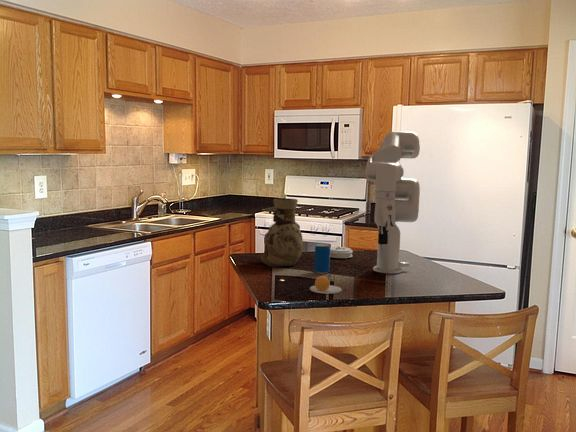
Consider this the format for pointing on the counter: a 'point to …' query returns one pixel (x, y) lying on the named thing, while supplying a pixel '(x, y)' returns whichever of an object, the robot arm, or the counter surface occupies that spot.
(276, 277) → the counter surface
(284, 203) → the ceramic vessel
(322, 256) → the beverage can
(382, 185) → the robot arm
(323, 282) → the ball
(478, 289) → the counter surface
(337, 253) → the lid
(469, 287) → the counter surface
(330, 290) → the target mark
